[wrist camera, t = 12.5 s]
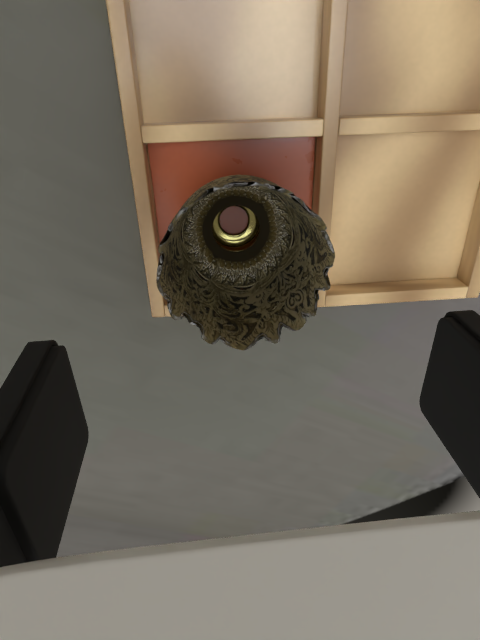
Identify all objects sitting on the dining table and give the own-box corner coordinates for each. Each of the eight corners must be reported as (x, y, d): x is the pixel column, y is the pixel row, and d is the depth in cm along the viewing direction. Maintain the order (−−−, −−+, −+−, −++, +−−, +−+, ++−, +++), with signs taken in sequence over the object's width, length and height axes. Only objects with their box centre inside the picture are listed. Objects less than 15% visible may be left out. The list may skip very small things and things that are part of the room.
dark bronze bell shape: (323, 217, 25) (371, 271, 18) (235, 301, 27) (248, 377, 20) (231, 119, 22) (246, 139, 15) (141, 222, 24) (118, 280, 18)
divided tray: (155, 302, 28) (152, 318, 26) (93, -138, 18) (81, -162, 16) (460, 283, 29) (478, 297, 27) (564, -139, 19) (603, -162, 17)
